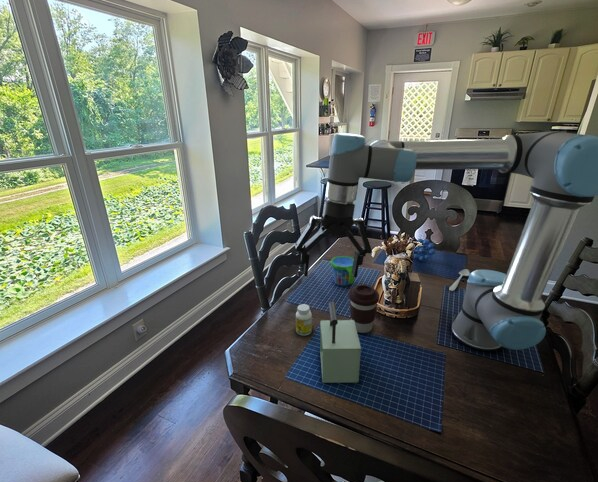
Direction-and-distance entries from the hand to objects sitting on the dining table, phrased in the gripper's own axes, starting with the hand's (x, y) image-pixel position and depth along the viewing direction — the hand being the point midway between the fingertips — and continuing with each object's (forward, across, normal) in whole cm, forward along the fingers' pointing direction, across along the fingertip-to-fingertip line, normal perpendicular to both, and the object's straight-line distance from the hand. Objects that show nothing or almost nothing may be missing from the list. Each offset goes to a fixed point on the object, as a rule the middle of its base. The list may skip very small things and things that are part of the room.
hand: (329, 274), depth 88 cm
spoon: (+23, -67, -36) cm, 79 cm away
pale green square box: (+18, -9, +6) cm, 20 cm away
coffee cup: (+27, -17, -11) cm, 34 cm away
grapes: (+24, -60, -57) cm, 86 cm away
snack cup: (+28, -17, -42) cm, 53 cm away
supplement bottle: (+29, +3, -12) cm, 32 cm away
